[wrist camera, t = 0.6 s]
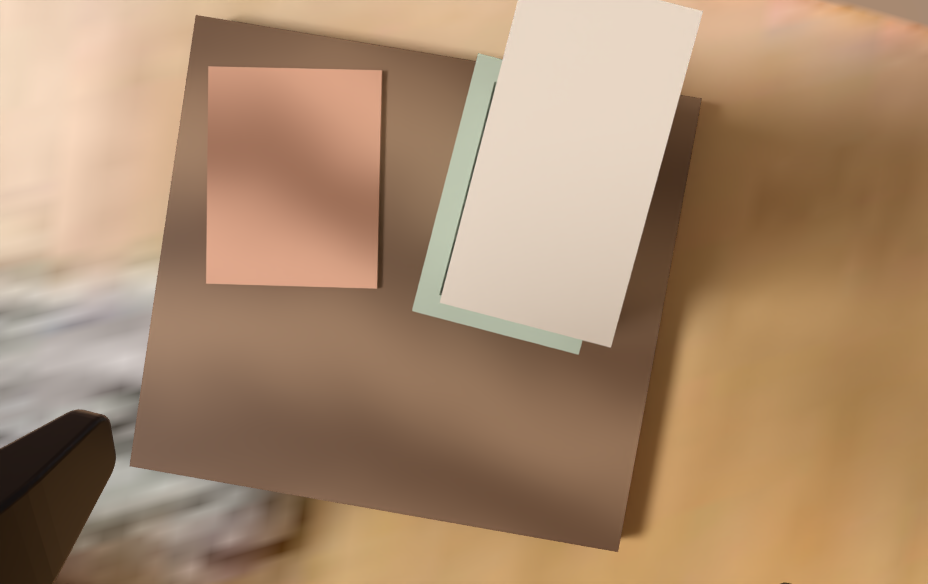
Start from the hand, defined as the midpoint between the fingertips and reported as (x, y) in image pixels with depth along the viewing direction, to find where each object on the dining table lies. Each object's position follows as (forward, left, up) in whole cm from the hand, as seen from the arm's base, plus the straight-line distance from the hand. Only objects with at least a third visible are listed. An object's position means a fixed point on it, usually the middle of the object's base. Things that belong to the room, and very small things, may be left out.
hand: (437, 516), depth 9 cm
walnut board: (0, +3, -14) cm, 15 cm away
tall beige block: (+4, +3, -13) cm, 14 cm away
